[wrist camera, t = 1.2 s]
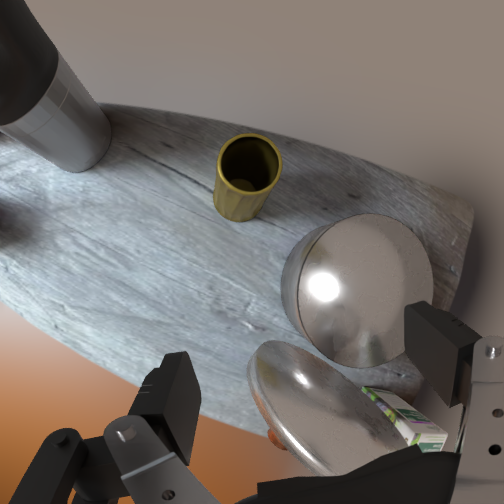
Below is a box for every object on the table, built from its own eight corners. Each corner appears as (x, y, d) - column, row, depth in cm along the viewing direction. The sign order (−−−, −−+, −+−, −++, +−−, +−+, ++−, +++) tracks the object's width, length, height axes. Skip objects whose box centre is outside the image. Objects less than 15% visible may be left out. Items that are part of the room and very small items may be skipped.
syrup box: (393, 391, 41) (451, 431, 26) (377, 425, 40) (428, 474, 26) (361, 385, 40) (417, 430, 26) (346, 421, 40) (392, 476, 25)
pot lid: (257, 315, 30) (239, 337, 30) (255, 436, 13) (221, 466, 13) (380, 397, 31) (363, 414, 31) (442, 507, 14) (414, 528, 14)
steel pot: (253, 302, 39) (264, 314, 30) (328, 197, 40) (356, 181, 31) (350, 368, 40) (380, 392, 31) (413, 271, 41) (453, 273, 32)
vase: (262, 172, 39) (286, 128, 25) (264, 221, 39) (290, 200, 25) (212, 173, 39) (210, 128, 24) (213, 223, 39) (211, 202, 24)
